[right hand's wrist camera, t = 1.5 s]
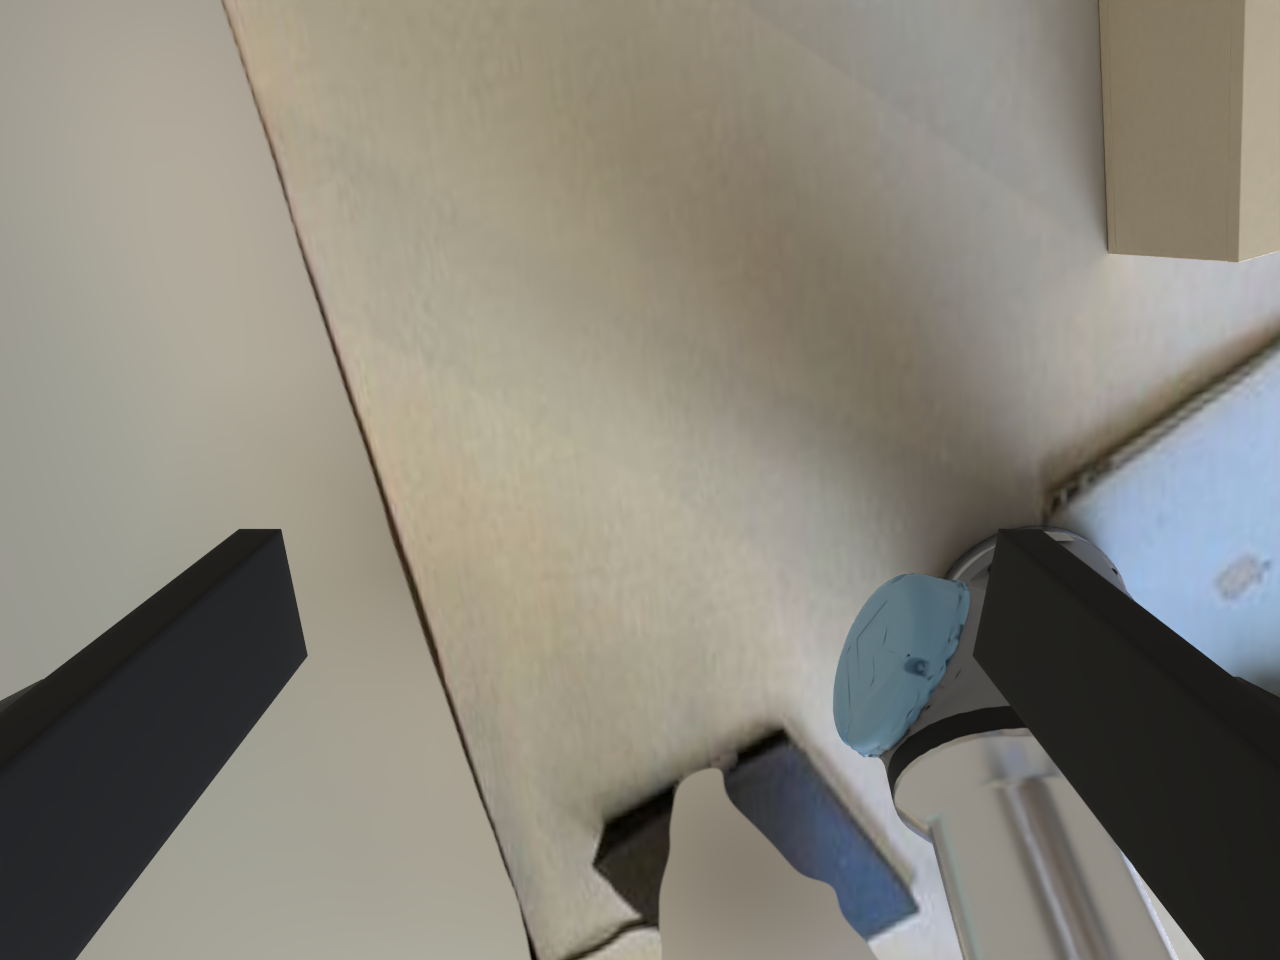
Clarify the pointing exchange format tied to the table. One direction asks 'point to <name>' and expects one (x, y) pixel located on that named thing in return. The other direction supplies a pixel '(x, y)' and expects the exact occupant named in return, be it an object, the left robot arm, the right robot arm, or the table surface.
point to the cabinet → (1192, 127)
